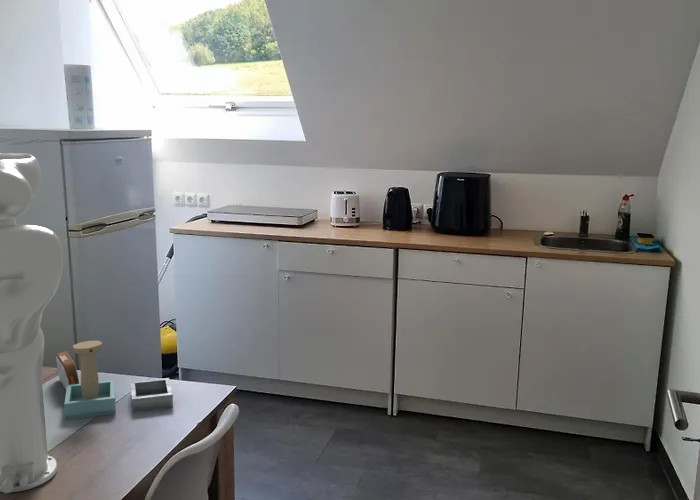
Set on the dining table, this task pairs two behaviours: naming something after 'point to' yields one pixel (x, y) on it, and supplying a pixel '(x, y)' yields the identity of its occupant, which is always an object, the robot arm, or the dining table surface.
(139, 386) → the collar
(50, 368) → the dining table surface
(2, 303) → the robot arm
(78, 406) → the tray
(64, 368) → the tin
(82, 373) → the handle
